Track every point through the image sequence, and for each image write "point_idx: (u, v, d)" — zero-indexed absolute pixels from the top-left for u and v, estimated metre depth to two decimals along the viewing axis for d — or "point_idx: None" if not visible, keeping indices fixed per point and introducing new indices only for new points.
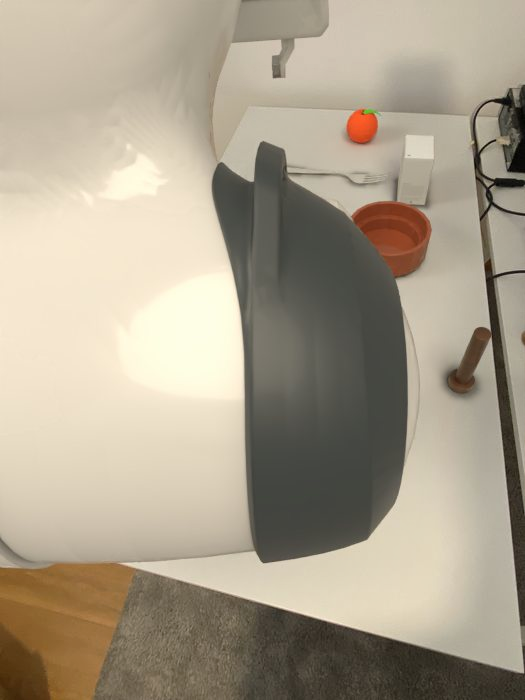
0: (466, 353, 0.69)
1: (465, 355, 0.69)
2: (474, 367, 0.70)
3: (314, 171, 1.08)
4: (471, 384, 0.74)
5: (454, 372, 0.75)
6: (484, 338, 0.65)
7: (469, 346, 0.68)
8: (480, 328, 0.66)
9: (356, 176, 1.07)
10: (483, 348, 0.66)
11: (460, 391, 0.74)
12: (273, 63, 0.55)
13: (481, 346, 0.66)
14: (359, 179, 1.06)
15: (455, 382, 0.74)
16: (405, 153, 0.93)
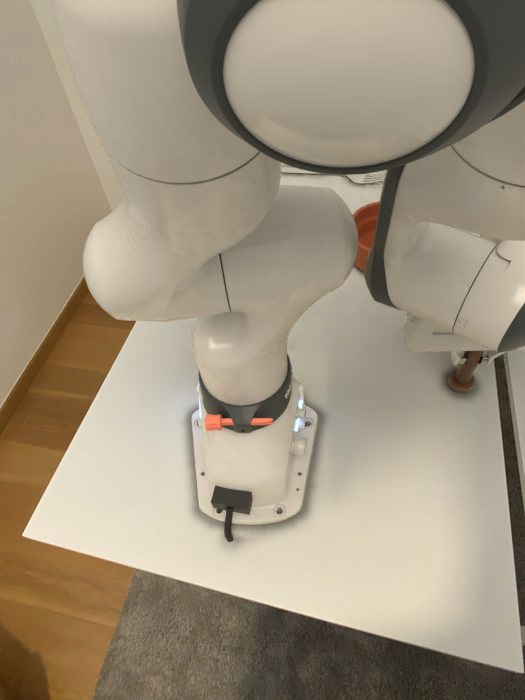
0: (466, 353, 0.69)
1: None
2: (474, 367, 0.70)
3: None
4: (471, 384, 0.74)
5: (454, 372, 0.75)
6: None
7: None
8: None
9: (356, 176, 1.07)
10: None
11: (460, 391, 0.74)
12: (483, 357, 0.69)
13: None
14: (359, 179, 1.06)
15: (455, 382, 0.74)
16: None
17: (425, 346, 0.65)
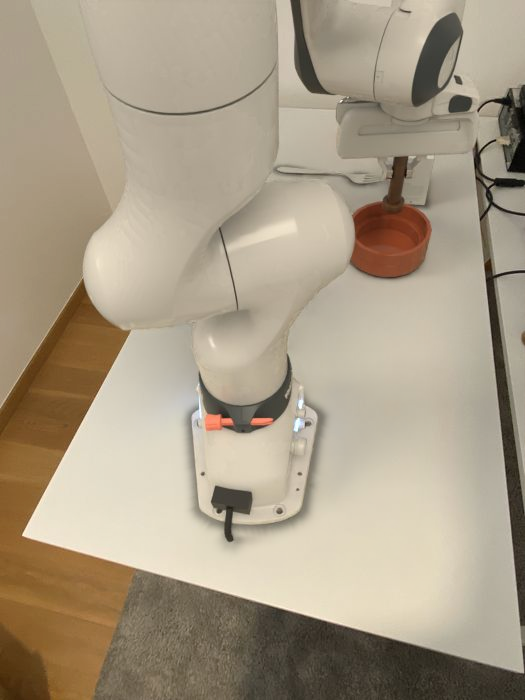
0: (392, 166, 0.78)
1: None
2: (400, 181, 0.80)
3: (314, 171, 1.08)
4: (401, 204, 0.83)
5: (387, 196, 0.85)
6: None
7: (394, 157, 0.77)
8: None
9: (356, 176, 1.07)
10: (405, 156, 0.76)
11: (391, 211, 0.84)
12: (408, 169, 0.78)
13: None
14: (359, 179, 1.06)
15: (387, 203, 0.84)
16: None
17: (353, 151, 0.75)
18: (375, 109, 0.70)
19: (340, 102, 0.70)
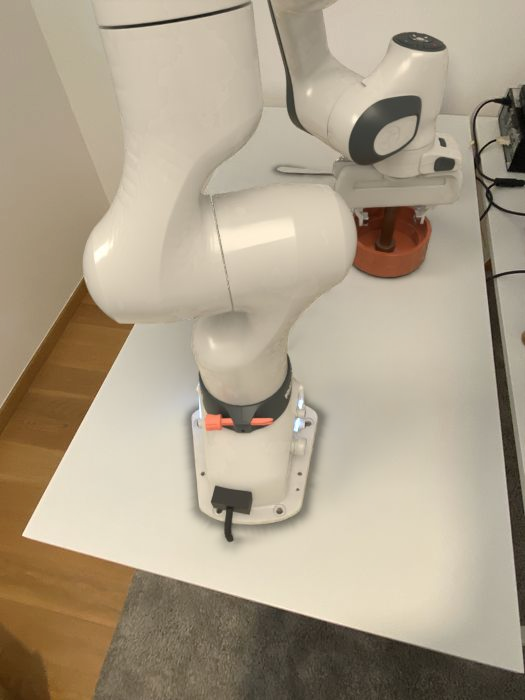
0: (384, 213, 0.86)
1: (383, 215, 0.86)
2: (391, 226, 0.87)
3: (314, 171, 1.08)
4: (392, 245, 0.91)
5: (379, 238, 0.92)
6: None
7: None
8: None
9: None
10: None
11: None
12: (417, 216, 0.85)
13: None
14: None
15: (379, 244, 0.91)
16: None
17: (349, 202, 0.82)
18: (368, 167, 0.78)
19: (336, 160, 0.78)
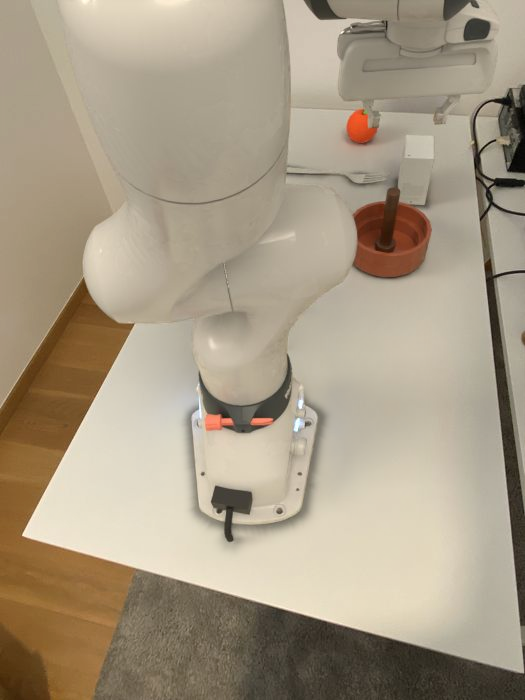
0: (384, 213, 0.86)
1: (383, 215, 0.86)
2: (391, 226, 0.87)
3: (314, 171, 1.08)
4: (392, 245, 0.91)
5: (379, 238, 0.92)
6: (394, 194, 0.82)
7: (385, 205, 0.85)
8: (392, 188, 0.83)
9: (356, 176, 1.07)
10: (395, 205, 0.84)
11: None
12: (438, 113, 0.71)
13: (393, 202, 0.83)
14: (359, 179, 1.06)
15: (379, 244, 0.91)
16: (405, 153, 0.93)
17: (357, 91, 0.67)
18: (381, 40, 0.63)
19: (342, 33, 0.63)
